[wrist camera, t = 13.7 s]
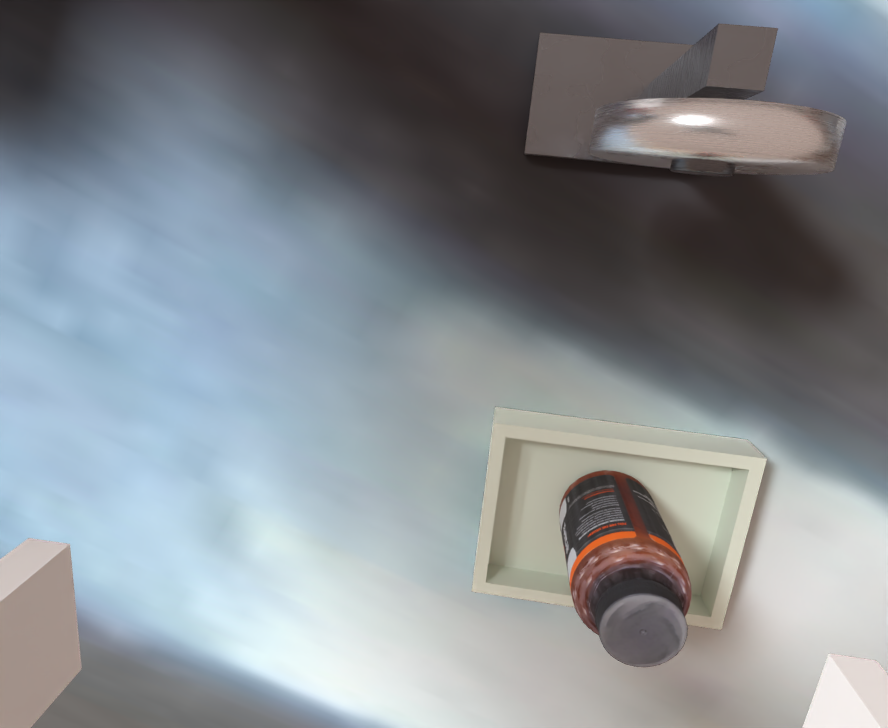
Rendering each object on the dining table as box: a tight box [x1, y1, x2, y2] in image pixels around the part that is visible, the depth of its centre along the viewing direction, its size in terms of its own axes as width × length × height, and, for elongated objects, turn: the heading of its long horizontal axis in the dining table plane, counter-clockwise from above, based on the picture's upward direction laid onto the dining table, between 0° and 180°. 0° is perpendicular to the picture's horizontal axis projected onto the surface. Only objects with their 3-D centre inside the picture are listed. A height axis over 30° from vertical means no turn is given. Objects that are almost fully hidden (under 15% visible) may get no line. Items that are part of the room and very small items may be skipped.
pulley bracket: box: [524, 24, 846, 176], centre depth 26 cm, size 12×7×14 cm, turn 84°
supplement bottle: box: [559, 470, 692, 667], centre depth 33 cm, size 6×6×11 cm
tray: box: [472, 407, 767, 630], centre depth 38 cm, size 16×12×3 cm
